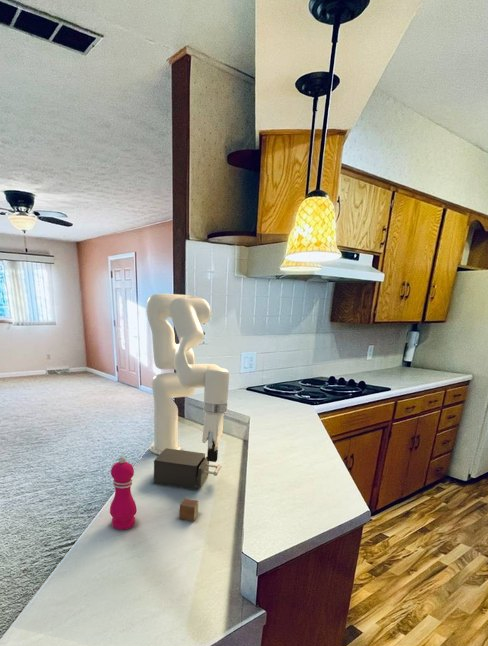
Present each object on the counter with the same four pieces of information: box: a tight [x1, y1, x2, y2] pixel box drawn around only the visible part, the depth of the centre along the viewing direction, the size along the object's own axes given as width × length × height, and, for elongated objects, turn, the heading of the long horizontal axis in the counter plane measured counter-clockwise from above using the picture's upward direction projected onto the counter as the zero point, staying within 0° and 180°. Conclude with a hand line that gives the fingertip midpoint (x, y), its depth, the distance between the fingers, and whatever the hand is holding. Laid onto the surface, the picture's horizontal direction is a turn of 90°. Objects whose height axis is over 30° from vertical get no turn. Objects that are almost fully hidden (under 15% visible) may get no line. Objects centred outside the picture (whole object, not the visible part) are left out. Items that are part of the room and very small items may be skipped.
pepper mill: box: [109, 456, 138, 531], centre depth 110 cm, size 7×7×20 cm
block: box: [178, 498, 200, 522], centre depth 119 cm, size 4×4×4 cm
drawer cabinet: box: [153, 448, 206, 491], centre depth 142 cm, size 15×13×9 cm
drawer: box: [196, 456, 222, 488], centre depth 141 cm, size 18×11×7 cm, turn 77°
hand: (212, 460), depth 138 cm, fingers closed
